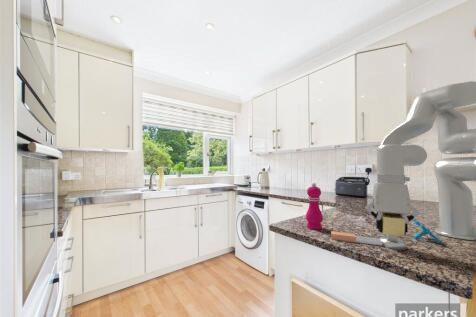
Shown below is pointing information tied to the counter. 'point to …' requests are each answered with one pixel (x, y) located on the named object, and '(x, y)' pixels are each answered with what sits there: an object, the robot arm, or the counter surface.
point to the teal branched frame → (424, 232)
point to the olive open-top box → (393, 224)
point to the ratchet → (371, 240)
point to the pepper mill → (314, 208)
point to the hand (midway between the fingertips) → (391, 232)
